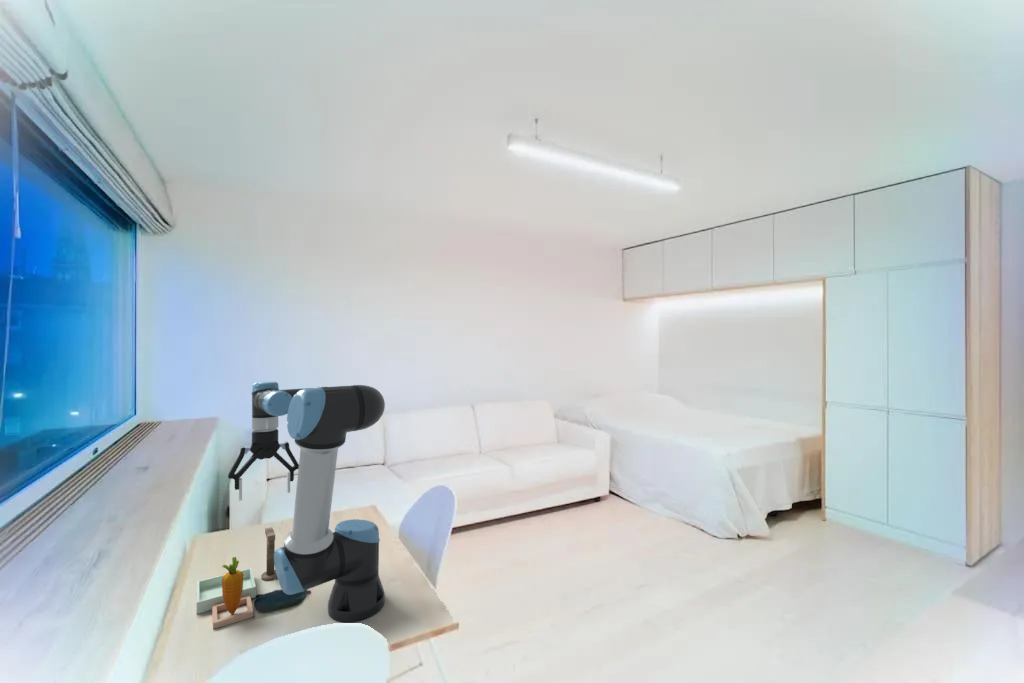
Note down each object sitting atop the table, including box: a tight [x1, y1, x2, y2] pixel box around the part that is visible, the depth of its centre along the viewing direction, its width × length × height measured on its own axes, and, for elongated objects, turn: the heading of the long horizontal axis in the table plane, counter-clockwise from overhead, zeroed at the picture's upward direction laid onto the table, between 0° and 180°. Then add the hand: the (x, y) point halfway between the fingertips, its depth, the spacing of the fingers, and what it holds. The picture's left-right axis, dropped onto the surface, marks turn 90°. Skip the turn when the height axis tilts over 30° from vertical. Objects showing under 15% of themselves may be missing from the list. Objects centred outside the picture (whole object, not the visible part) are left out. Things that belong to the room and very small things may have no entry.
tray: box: [196, 567, 257, 615], centre depth 130 cm, size 13×14×3 cm
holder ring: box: [211, 596, 254, 630], centre depth 121 cm, size 9×9×2 cm
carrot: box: [221, 556, 243, 615], centre depth 121 cm, size 5×5×15 cm
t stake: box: [260, 526, 278, 582], centre depth 141 cm, size 8×5×14 cm, turn 35°
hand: (264, 495), depth 144 cm, fingers open, 13 cm apart
